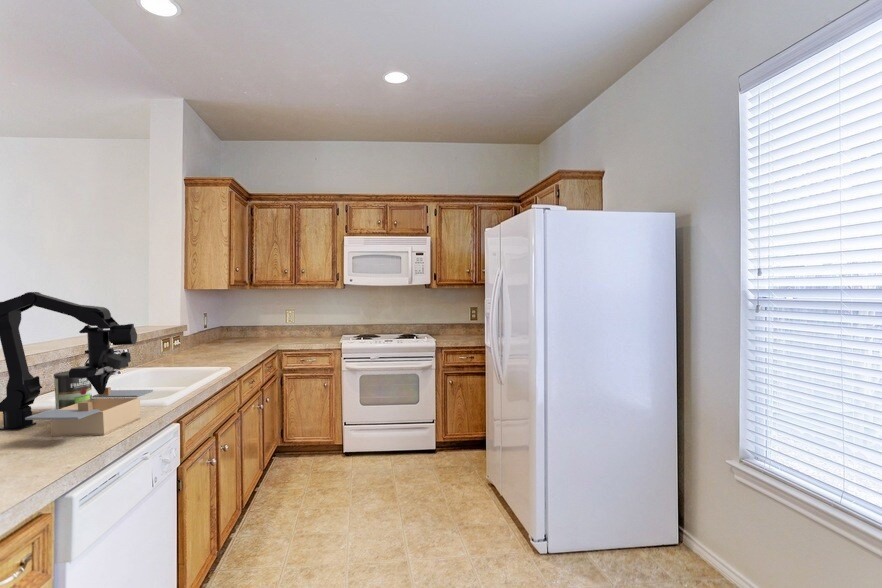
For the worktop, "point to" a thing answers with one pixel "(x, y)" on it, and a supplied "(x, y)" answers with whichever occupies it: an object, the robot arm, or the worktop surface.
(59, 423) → the carton
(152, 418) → the worktop surface
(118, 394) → the lid panel
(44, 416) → the lid panel
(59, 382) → the coffee can
